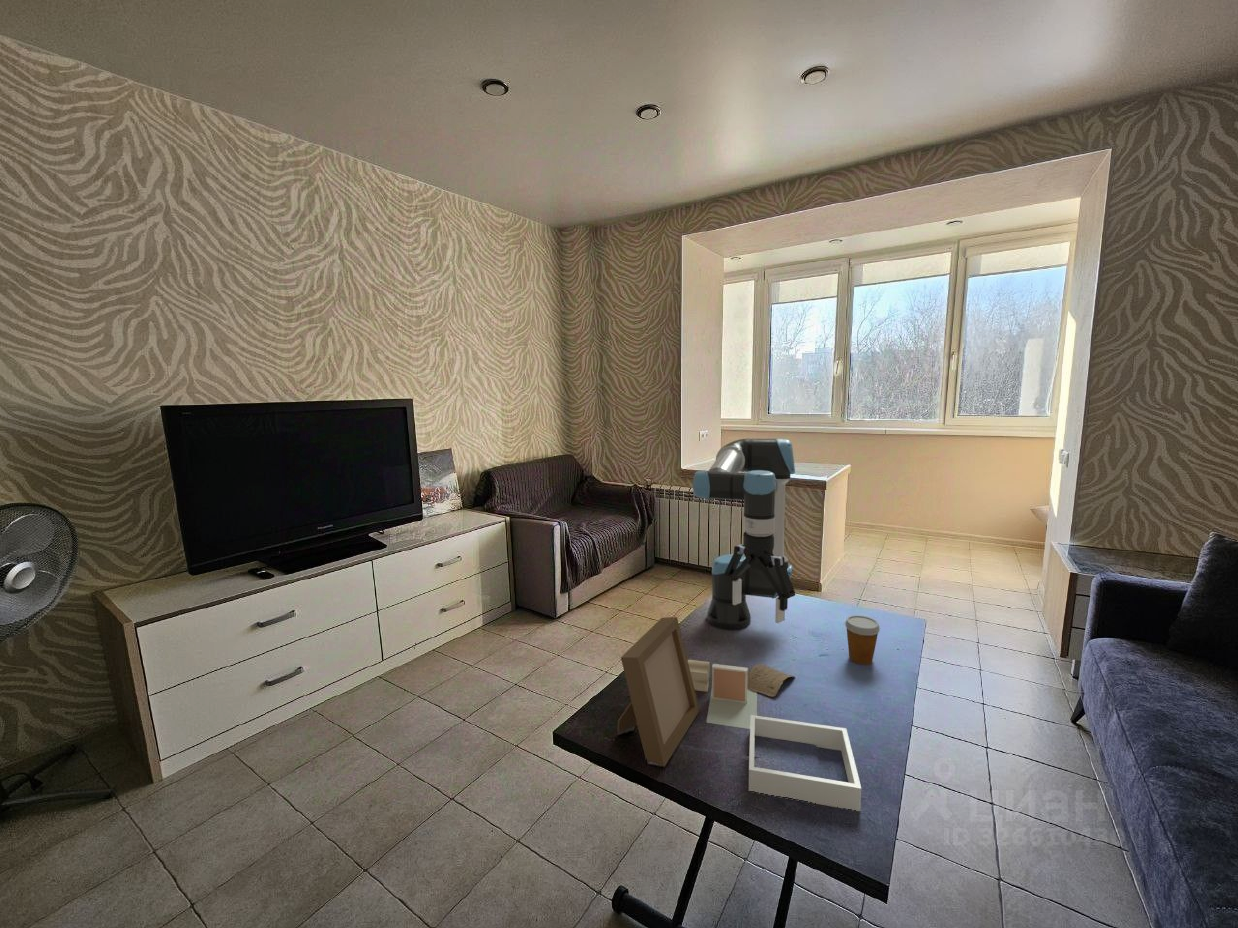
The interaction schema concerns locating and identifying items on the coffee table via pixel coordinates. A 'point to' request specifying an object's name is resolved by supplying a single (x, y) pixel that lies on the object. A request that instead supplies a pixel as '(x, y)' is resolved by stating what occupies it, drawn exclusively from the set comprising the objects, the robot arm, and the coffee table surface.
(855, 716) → the coffee table surface
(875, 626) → the disposable coffee cup
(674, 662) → the photo frame
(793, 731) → the white open rectangular frame
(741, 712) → the mat
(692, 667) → the block
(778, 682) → the clay tablet
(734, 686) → the tile
